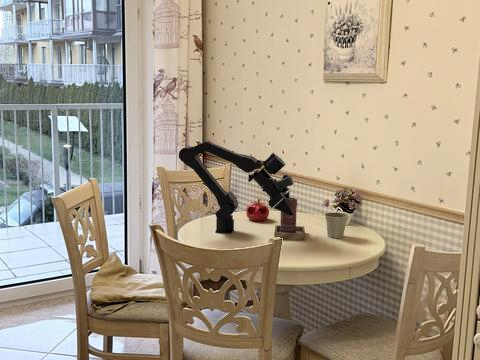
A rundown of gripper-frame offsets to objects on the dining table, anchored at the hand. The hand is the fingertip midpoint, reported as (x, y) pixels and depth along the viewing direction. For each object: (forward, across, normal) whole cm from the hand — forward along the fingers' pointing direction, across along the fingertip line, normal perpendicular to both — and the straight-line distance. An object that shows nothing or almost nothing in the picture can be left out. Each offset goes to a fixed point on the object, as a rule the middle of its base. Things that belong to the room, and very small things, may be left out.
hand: (293, 212), depth 220 cm
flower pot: (+18, +4, -5) cm, 19 cm away
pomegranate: (-6, +22, +20) cm, 30 cm away
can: (+5, 0, +8) cm, 9 cm away
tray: (+6, 0, +8) cm, 10 cm away
